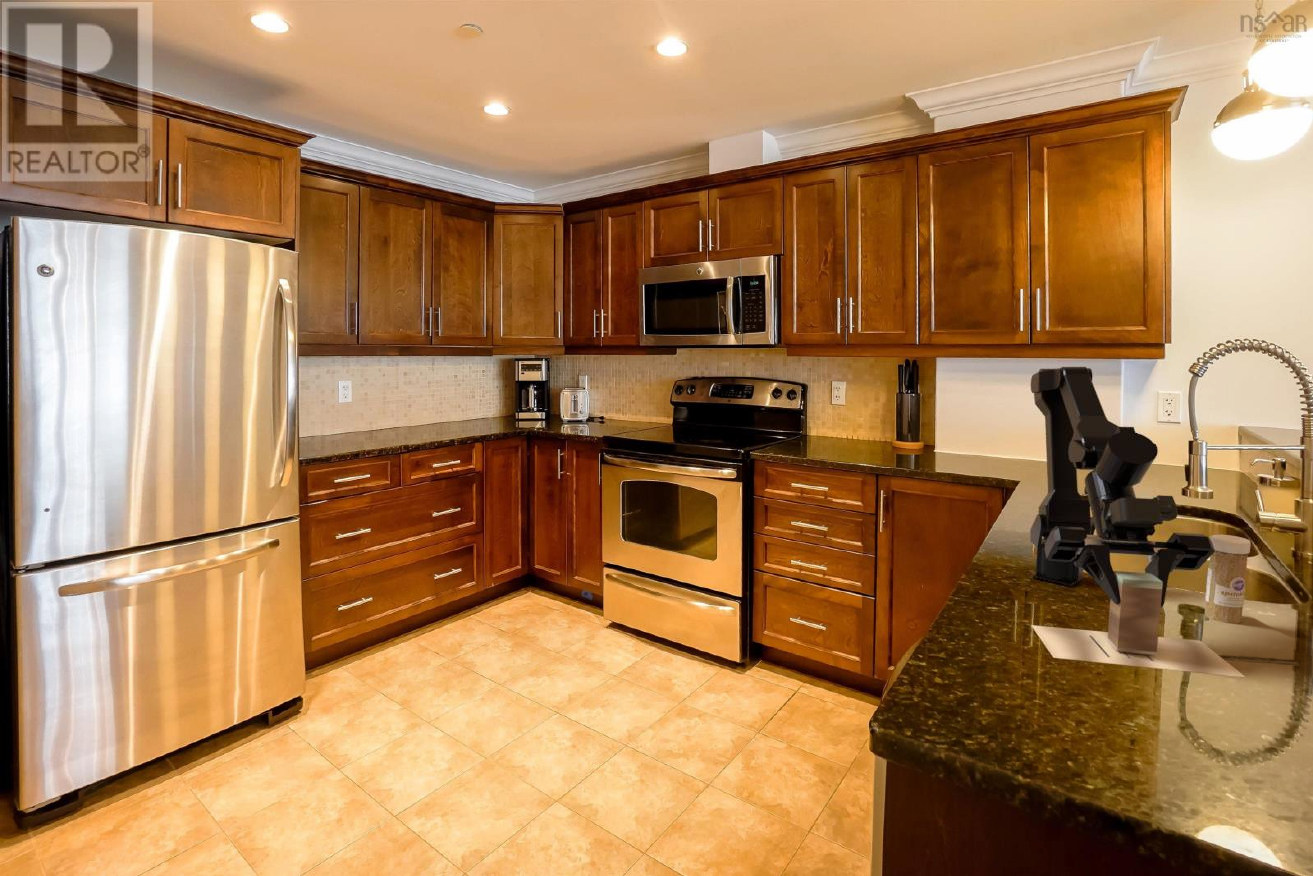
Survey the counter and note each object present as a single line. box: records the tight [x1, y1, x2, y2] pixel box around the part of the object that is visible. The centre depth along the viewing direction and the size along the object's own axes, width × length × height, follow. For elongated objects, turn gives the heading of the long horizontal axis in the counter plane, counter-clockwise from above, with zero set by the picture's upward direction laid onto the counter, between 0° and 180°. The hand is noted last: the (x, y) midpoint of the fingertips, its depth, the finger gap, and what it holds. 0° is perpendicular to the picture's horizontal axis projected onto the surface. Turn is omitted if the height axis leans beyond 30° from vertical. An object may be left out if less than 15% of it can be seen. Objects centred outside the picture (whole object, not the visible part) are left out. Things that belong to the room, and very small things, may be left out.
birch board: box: [1031, 624, 1247, 678], centre depth 89 cm, size 21×11×1 cm, turn 74°
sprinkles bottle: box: [1204, 534, 1251, 625], centre depth 99 cm, size 5×5×14 cm
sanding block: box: [1107, 570, 1163, 655], centre depth 88 cm, size 4×4×10 cm
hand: (1139, 604), depth 87 cm, fingers closed on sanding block, 4 cm apart
